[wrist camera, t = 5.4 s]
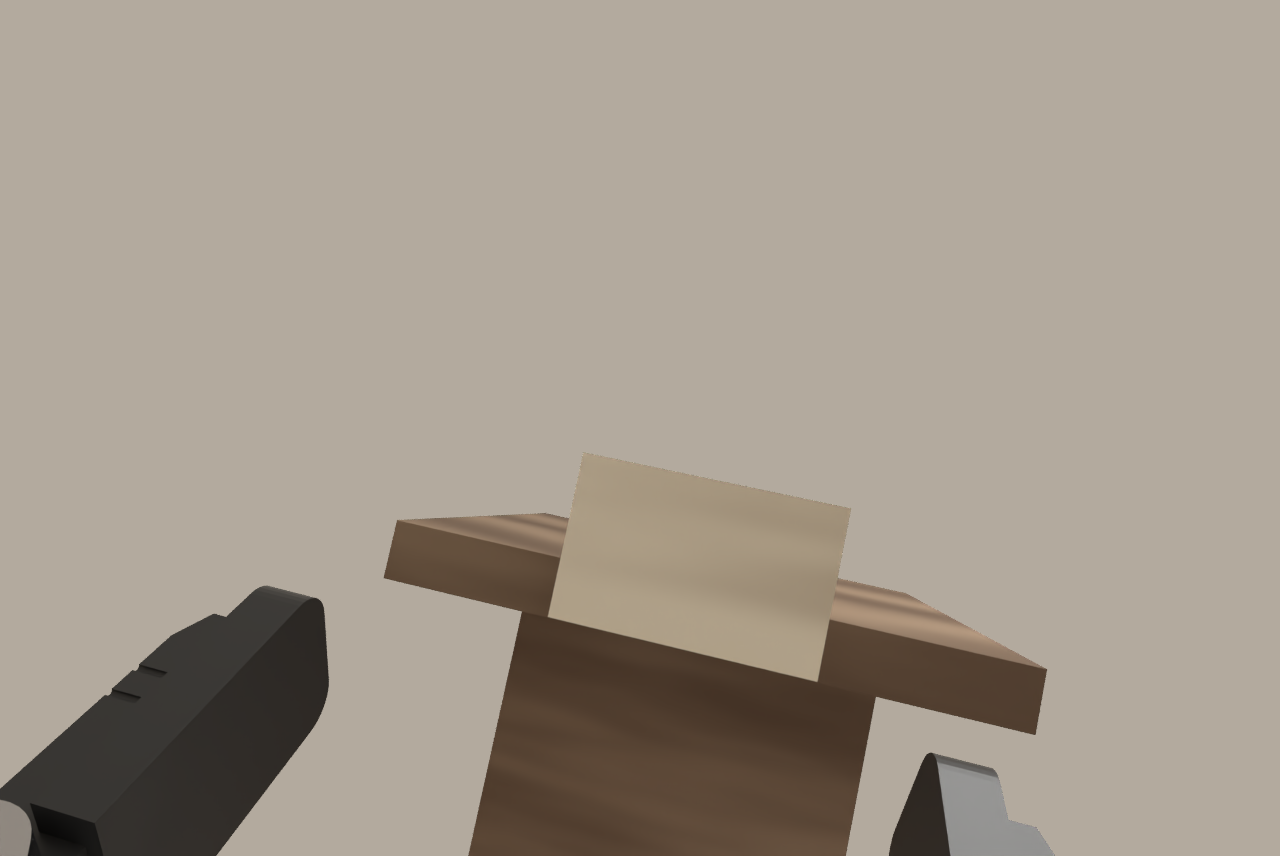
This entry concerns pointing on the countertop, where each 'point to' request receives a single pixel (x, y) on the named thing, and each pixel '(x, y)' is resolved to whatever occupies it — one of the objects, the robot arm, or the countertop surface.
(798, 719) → the walnut stand
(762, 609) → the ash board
